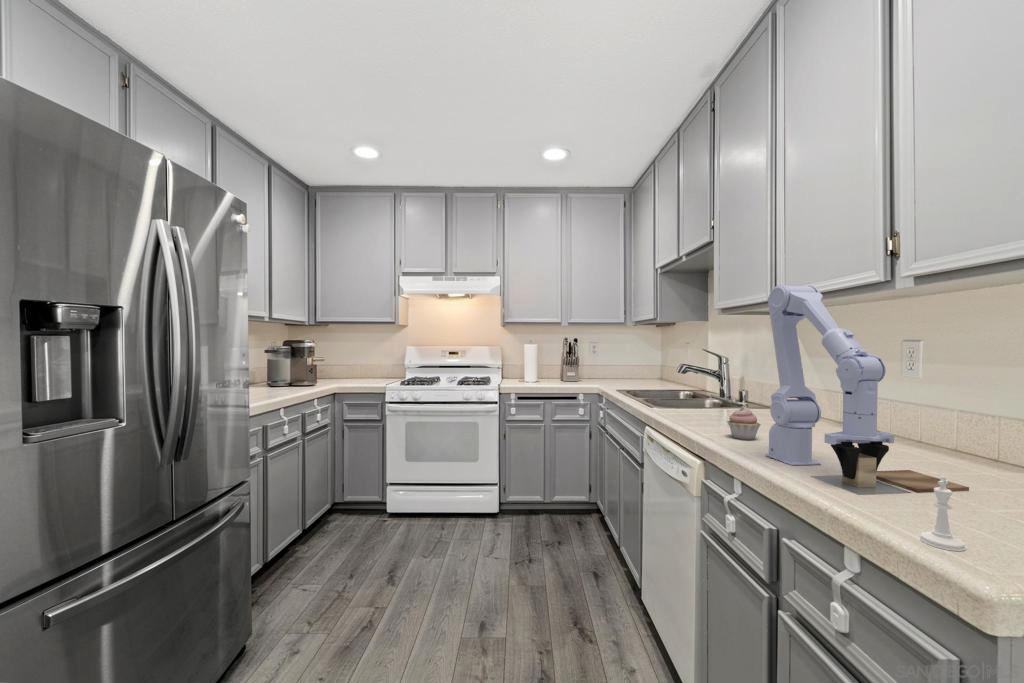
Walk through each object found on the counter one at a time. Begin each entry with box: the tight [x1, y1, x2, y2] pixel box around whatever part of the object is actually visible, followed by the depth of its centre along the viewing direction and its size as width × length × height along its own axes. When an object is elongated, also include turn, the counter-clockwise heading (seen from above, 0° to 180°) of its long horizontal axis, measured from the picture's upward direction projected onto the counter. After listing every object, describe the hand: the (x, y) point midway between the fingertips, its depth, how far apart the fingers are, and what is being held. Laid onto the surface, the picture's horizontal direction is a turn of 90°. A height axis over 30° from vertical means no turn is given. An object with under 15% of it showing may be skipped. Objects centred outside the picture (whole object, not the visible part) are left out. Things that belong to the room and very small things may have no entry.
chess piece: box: [919, 475, 967, 552], centre depth 67 cm, size 5×5×10 cm
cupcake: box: [726, 405, 761, 441], centre depth 138 cm, size 9×9×10 cm
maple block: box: [841, 453, 877, 487], centre depth 94 cm, size 4×4×6 cm
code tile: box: [810, 474, 912, 496], centre depth 94 cm, size 12×12×1 cm
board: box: [876, 469, 970, 494], centre depth 96 cm, size 12×12×1 cm
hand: (858, 477), depth 94 cm, fingers closed on maple block, 4 cm apart
